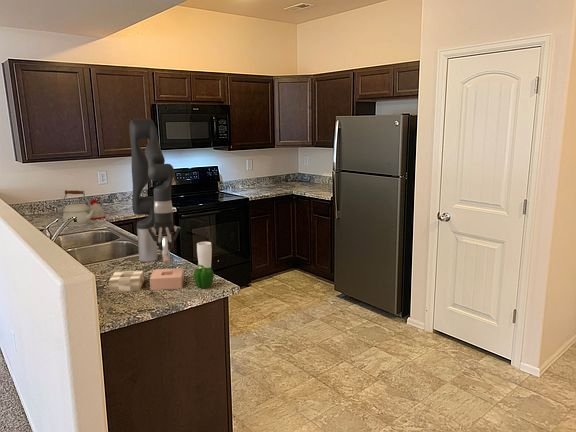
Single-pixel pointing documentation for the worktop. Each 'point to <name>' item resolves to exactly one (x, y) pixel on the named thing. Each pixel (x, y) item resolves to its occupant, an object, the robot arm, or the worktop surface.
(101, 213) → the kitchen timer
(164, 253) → the lock pin
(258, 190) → the worktop surface
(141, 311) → the worktop surface
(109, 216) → the worktop surface
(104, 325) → the worktop surface
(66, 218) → the kettle
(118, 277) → the mount block
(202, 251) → the drinking glass
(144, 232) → the robot arm
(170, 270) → the dock block
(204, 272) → the bell pepper
